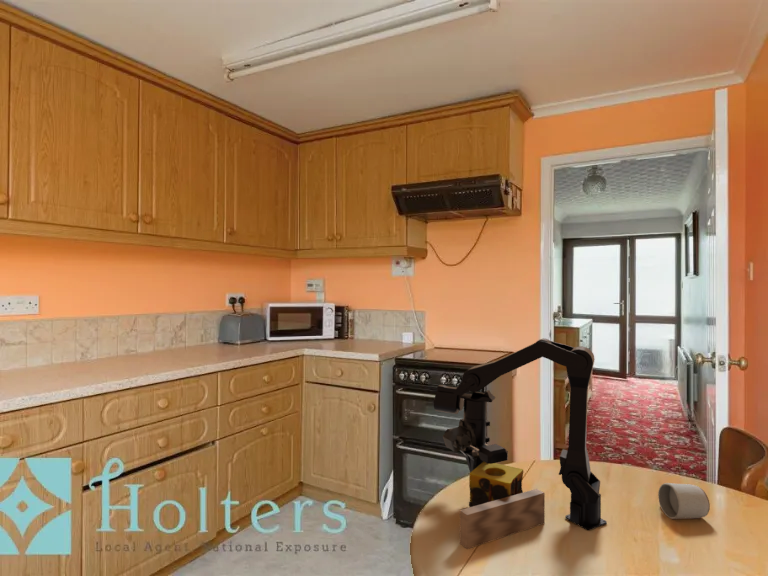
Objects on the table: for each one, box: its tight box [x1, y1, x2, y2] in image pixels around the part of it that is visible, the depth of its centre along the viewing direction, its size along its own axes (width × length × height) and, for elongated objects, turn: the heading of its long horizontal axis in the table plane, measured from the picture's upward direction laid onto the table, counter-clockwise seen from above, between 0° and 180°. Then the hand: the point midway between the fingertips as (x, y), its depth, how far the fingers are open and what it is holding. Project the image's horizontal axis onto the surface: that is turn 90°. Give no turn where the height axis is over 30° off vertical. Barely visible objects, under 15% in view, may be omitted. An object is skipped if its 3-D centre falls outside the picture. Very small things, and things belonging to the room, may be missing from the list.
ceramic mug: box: [657, 482, 711, 520], centre depth 113 cm, size 11×8×8 cm
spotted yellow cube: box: [468, 461, 524, 508], centre depth 113 cm, size 10×10×10 cm
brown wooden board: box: [459, 488, 546, 550], centre depth 104 cm, size 22×2×7 cm, turn 118°
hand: (473, 477), depth 121 cm, fingers closed
